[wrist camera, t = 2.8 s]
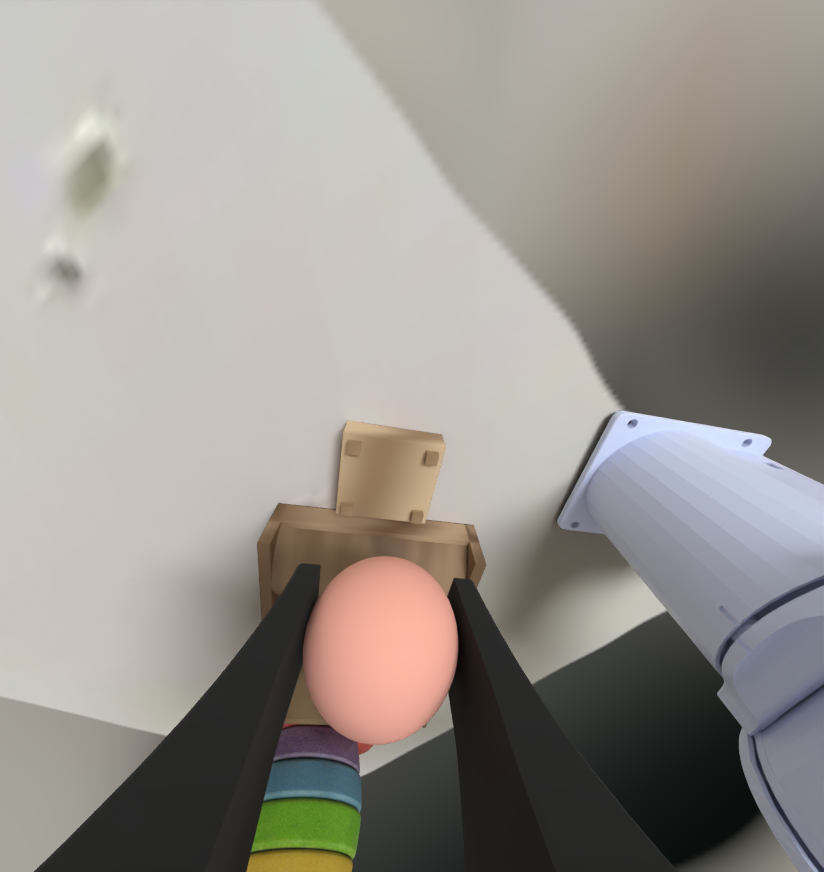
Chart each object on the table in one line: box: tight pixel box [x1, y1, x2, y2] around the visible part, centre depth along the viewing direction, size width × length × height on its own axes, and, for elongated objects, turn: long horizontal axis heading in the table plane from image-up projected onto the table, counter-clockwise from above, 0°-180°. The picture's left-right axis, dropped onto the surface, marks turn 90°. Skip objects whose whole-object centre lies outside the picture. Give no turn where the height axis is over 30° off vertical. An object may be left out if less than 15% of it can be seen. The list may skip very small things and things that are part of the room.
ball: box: [303, 556, 458, 745], centre depth 9 cm, size 4×4×4 cm
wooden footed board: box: [336, 421, 446, 524], centre depth 16 cm, size 5×5×2 cm
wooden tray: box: [257, 503, 486, 727], centre depth 22 cm, size 12×17×7 cm
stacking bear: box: [246, 724, 373, 872], centre depth 22 cm, size 11×10×18 cm
